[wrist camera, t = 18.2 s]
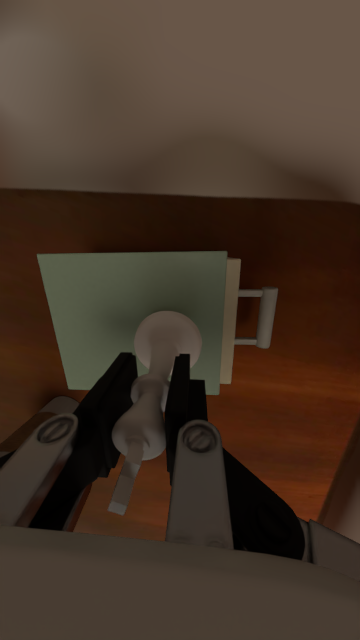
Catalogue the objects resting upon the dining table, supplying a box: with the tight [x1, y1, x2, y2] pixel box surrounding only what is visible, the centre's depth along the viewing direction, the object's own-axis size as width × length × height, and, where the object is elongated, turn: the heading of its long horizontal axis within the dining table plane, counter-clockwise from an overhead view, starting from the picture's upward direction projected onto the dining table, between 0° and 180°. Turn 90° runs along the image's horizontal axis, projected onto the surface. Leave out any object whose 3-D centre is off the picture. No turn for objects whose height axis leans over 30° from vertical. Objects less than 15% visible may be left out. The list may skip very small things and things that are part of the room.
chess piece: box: [108, 311, 202, 515], centre depth 10 cm, size 5×5×10 cm
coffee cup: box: [0, 396, 79, 457], centre depth 26 cm, size 8×8×15 cm
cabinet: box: [37, 251, 227, 395], centre depth 21 cm, size 15×13×10 cm
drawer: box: [220, 257, 278, 384], centre depth 21 cm, size 18×11×8 cm, turn 91°
